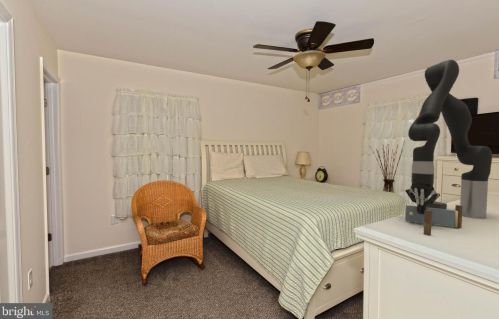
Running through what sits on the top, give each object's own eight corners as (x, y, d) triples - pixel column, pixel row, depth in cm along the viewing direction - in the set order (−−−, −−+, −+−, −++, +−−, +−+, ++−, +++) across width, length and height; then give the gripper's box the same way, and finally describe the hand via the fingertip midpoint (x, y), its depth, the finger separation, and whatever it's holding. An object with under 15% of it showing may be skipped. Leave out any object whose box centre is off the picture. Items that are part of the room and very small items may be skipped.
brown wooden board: (456, 226, 98) (457, 204, 98) (461, 227, 97) (462, 205, 96) (423, 234, 90) (424, 210, 89) (428, 235, 88) (429, 211, 88)
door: (457, 226, 97) (457, 210, 96) (458, 228, 95) (459, 212, 94) (405, 219, 106) (405, 205, 105) (405, 221, 103) (406, 206, 103)
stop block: (428, 217, 111) (429, 200, 111) (446, 221, 105) (446, 203, 105) (422, 218, 110) (423, 201, 109) (439, 223, 103) (440, 204, 103)
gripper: (446, 173, 95) (444, 216, 96) (412, 170, 107) (410, 209, 108) (434, 173, 92) (433, 218, 93) (401, 171, 104) (399, 211, 105)
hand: (421, 213), depth 100 cm, fingers closed
